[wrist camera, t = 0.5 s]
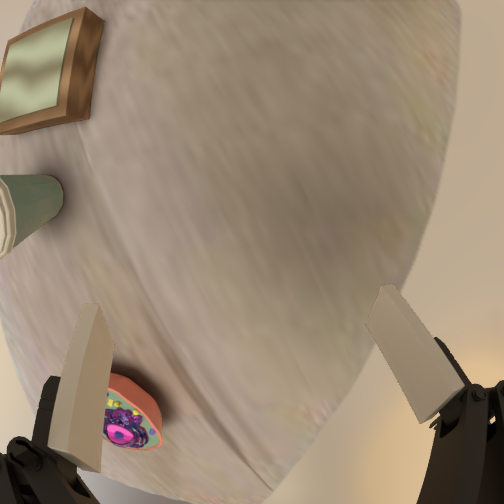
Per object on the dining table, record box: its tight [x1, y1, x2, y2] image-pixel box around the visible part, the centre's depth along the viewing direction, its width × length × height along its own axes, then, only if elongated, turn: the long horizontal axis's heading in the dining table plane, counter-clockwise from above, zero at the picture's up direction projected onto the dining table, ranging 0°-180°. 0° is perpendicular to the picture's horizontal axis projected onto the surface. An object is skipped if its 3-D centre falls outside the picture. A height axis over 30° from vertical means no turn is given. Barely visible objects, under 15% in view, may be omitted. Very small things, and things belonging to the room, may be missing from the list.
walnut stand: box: [0, 7, 104, 135], centre depth 26 cm, size 16×16×6 cm
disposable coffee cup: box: [0, 175, 63, 259], centre depth 28 cm, size 11×11×15 cm
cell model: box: [103, 373, 163, 451], centre depth 41 cm, size 17×20×11 cm
